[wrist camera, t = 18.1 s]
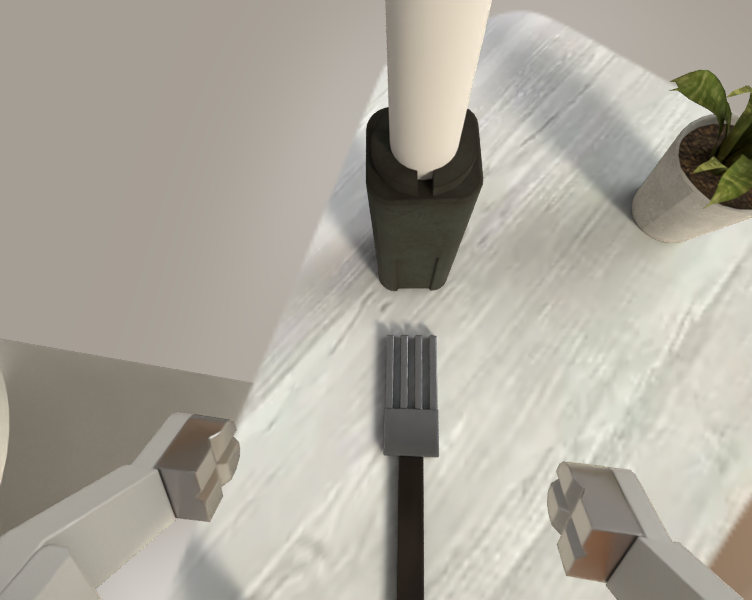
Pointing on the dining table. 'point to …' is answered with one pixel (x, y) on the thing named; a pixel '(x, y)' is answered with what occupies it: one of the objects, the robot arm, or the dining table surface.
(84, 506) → the robot arm
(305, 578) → the dining table surface
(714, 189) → the house plant
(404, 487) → the fork
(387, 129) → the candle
